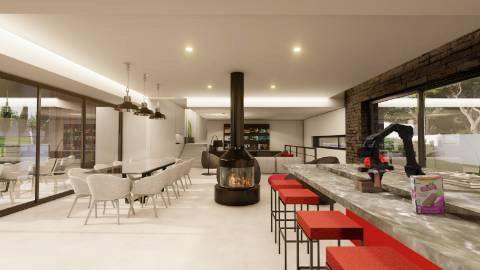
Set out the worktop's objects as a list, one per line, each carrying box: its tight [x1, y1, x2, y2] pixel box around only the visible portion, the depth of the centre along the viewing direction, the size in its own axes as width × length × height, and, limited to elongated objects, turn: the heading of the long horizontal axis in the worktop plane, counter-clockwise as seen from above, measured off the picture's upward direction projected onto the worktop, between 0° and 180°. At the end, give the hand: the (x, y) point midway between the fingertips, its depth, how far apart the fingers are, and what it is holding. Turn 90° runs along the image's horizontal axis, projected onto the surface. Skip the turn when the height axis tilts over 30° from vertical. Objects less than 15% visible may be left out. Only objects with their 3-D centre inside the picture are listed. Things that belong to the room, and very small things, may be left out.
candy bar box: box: [409, 174, 446, 215], centre depth 113 cm, size 11×5×16 cm, turn 74°
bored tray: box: [353, 178, 383, 193], centre depth 165 cm, size 12×12×6 cm
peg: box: [374, 172, 380, 187], centre depth 151 cm, size 3×3×8 cm
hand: (376, 183), depth 151 cm, fingers closed on peg, 3 cm apart
